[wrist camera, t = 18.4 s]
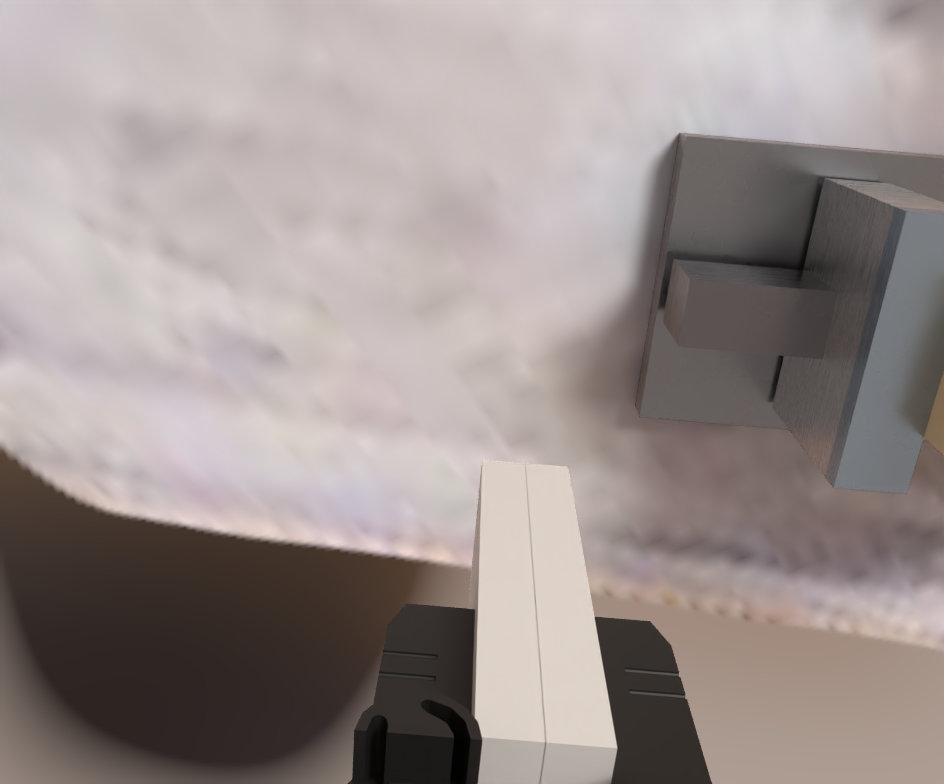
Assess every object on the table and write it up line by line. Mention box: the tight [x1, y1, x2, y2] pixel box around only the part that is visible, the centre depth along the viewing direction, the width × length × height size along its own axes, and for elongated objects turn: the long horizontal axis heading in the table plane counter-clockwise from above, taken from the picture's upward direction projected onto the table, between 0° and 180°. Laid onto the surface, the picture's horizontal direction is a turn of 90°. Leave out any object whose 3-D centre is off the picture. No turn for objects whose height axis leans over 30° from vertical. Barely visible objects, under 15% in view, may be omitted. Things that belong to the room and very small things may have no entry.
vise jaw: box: [663, 178, 944, 494], centre depth 30 cm, size 7×9×7 cm
